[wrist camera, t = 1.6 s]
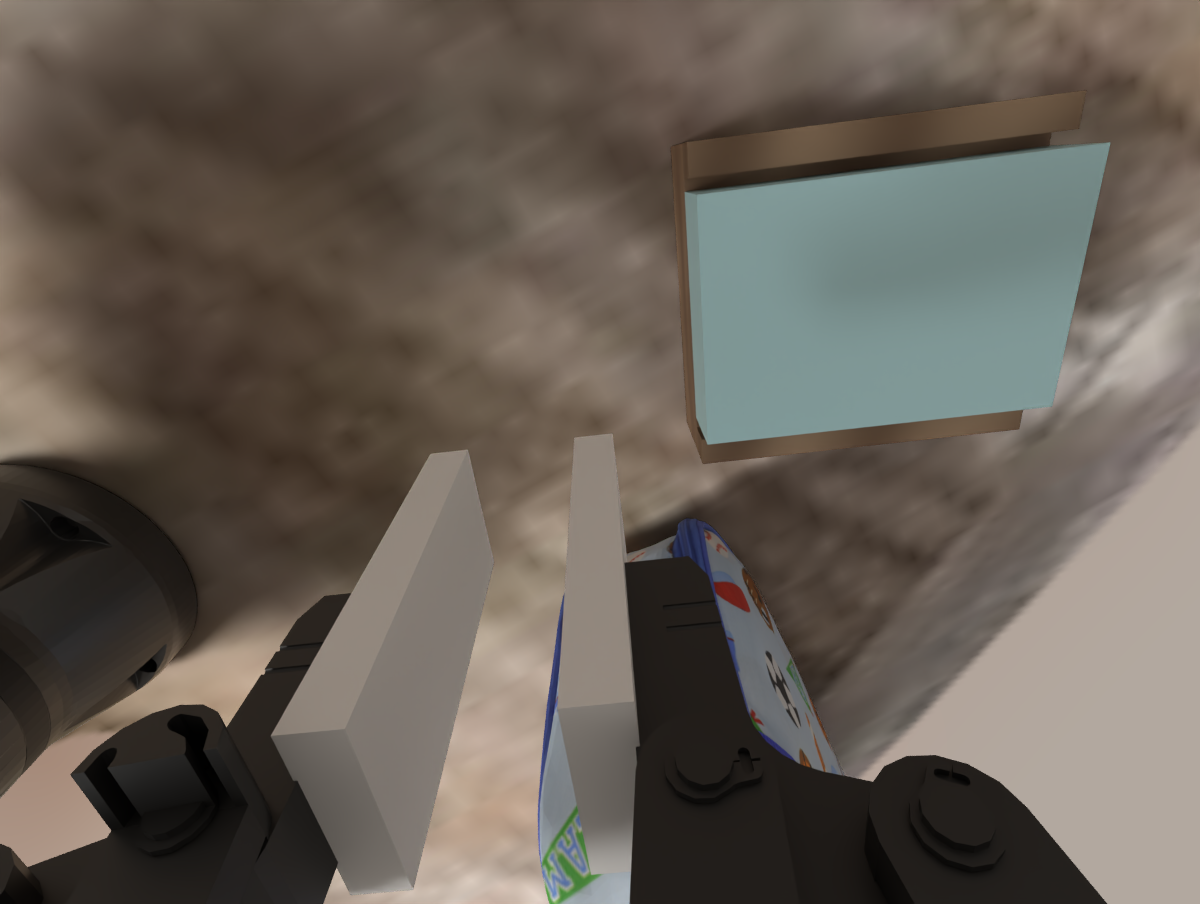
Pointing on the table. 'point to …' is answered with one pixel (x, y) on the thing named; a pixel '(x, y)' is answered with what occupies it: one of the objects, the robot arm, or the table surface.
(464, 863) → the table surface
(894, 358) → the teal rectangular block
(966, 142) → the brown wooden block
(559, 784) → the lunch box
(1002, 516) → the table surface
